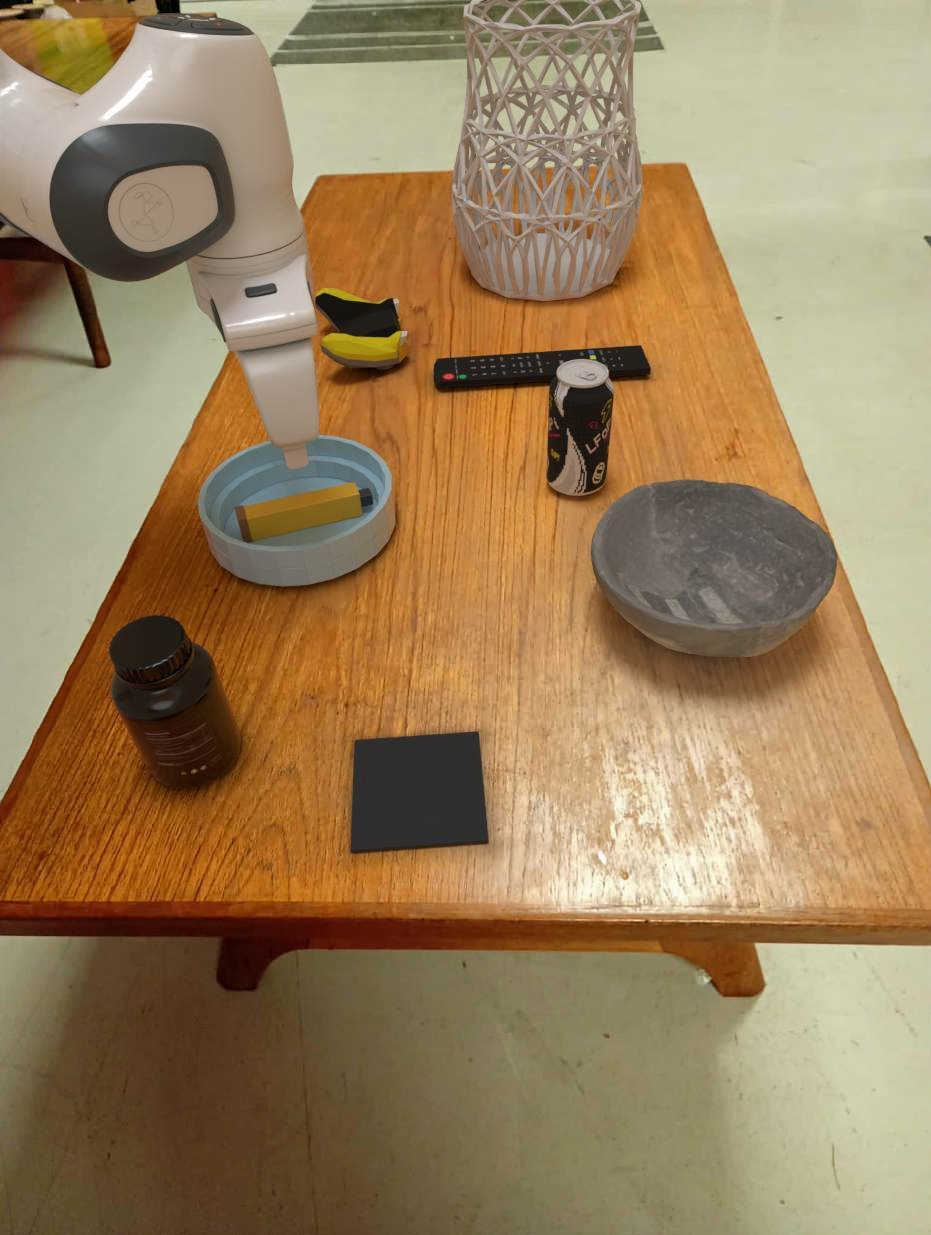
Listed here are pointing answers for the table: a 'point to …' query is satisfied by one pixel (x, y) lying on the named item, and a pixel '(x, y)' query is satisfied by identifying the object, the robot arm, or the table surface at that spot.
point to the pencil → (302, 511)
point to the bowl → (712, 566)
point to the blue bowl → (269, 478)
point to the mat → (417, 792)
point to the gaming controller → (362, 330)
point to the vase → (547, 159)
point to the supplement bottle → (172, 703)
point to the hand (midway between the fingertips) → (286, 433)
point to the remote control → (534, 366)
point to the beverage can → (579, 427)
